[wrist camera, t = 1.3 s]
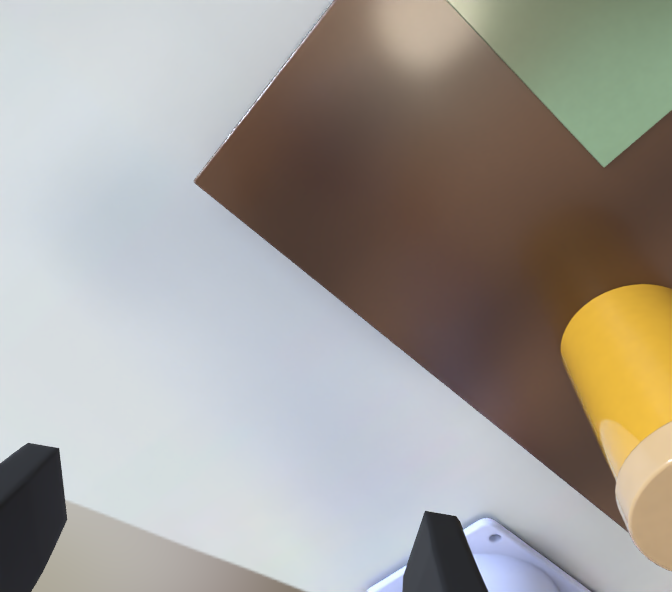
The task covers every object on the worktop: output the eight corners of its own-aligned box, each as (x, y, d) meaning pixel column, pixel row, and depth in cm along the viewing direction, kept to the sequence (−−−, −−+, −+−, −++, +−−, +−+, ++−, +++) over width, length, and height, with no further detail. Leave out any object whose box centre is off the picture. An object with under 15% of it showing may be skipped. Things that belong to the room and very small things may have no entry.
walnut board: (1101, 246, 18) (1153, 267, 16) (622, 512, 25) (634, 540, 23) (675, -435, 12) (709, -483, 10) (203, 170, 19) (190, 184, 17)
